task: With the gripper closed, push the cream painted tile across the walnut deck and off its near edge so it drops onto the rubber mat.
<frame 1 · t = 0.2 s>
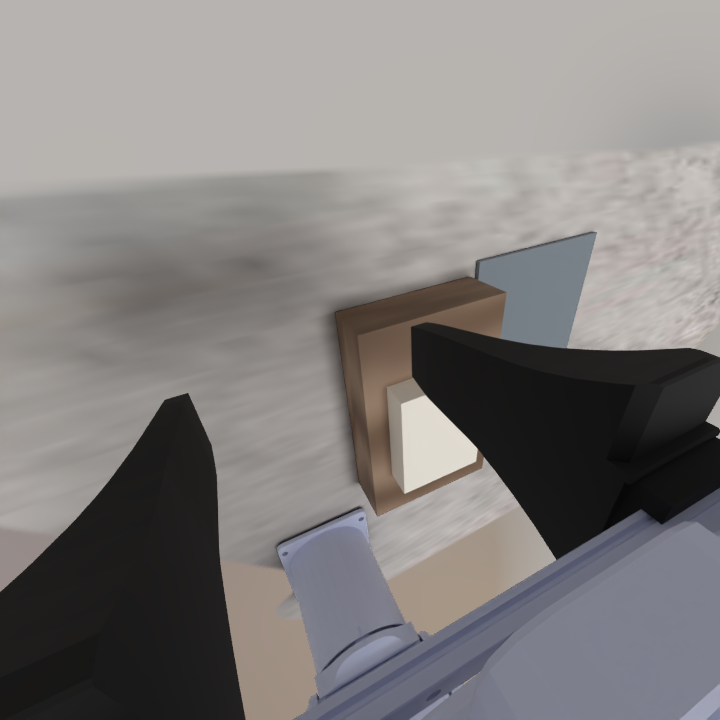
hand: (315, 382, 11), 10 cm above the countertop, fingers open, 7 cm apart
deck: (408, 390, 27), on the countertop
mat: (519, 351, 30), on the countertop
tile: (428, 419, 24), point 3 cm above the countertop, touching deck
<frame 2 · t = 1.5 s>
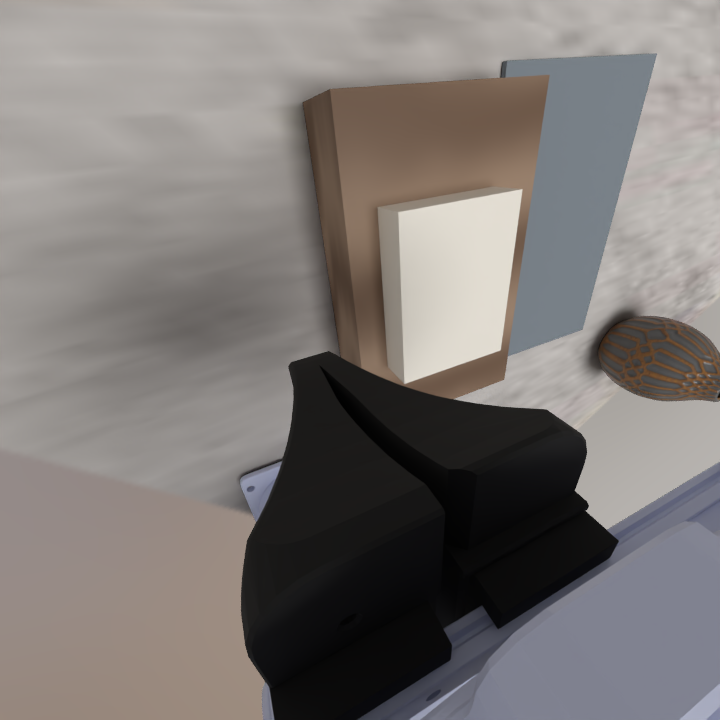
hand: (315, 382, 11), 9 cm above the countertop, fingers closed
deck: (409, 264, 21), on the countertop
vase: (611, 340, 33), on the countertop
mat: (551, 230, 24), on the countertop
tile: (436, 283, 18), point 3 cm above the countertop, touching deck
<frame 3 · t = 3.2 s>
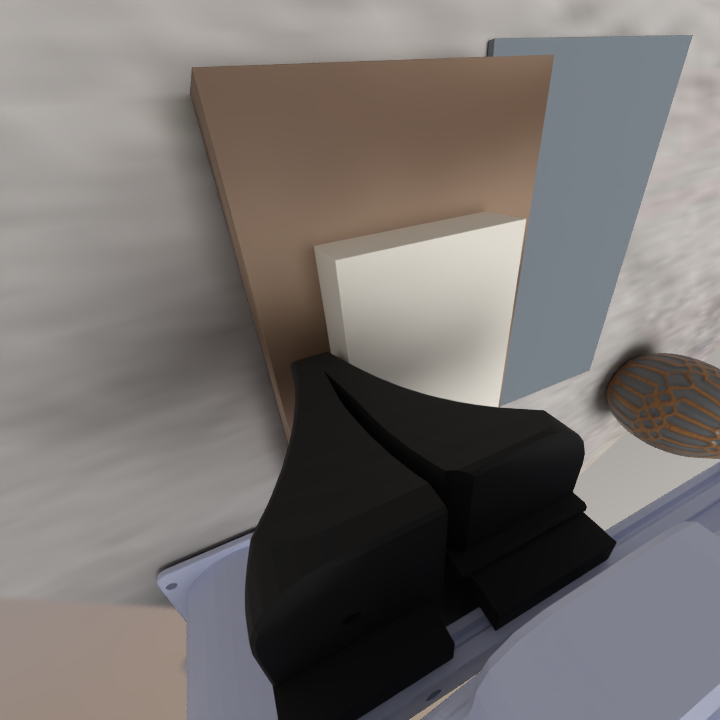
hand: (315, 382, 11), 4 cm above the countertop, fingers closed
deck: (369, 308, 16), on the countertop
vase: (622, 377, 29), on the countertop
mat: (553, 259, 19), on the countertop
tile: (408, 340, 13), point 3 cm above the countertop, touching deck, gripper
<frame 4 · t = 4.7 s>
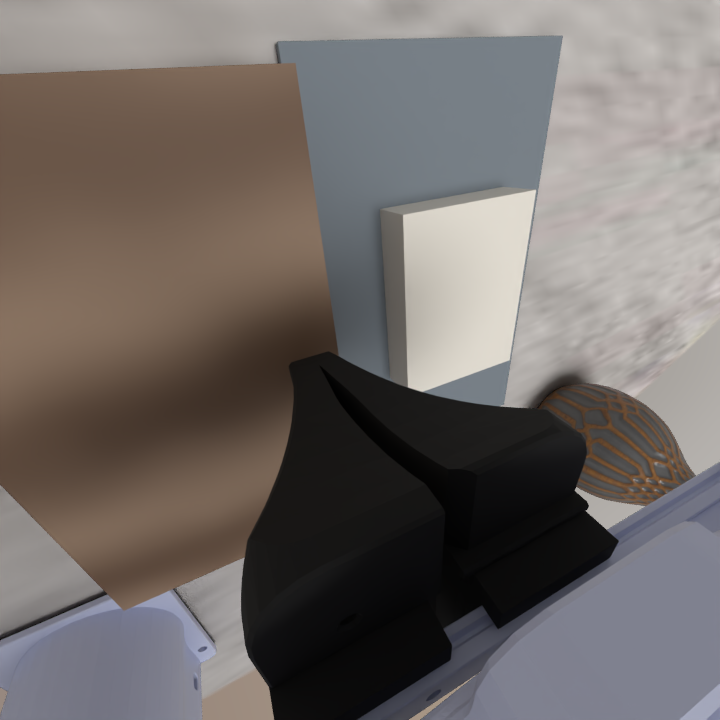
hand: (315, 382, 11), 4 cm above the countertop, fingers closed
deck: (186, 356, 13), on the countertop
vase: (551, 407, 26), on the countertop
mat: (431, 291, 17), on the countertop
tile: (466, 302, 15), point 2 cm above the countertop, tilted 180°, touching mat
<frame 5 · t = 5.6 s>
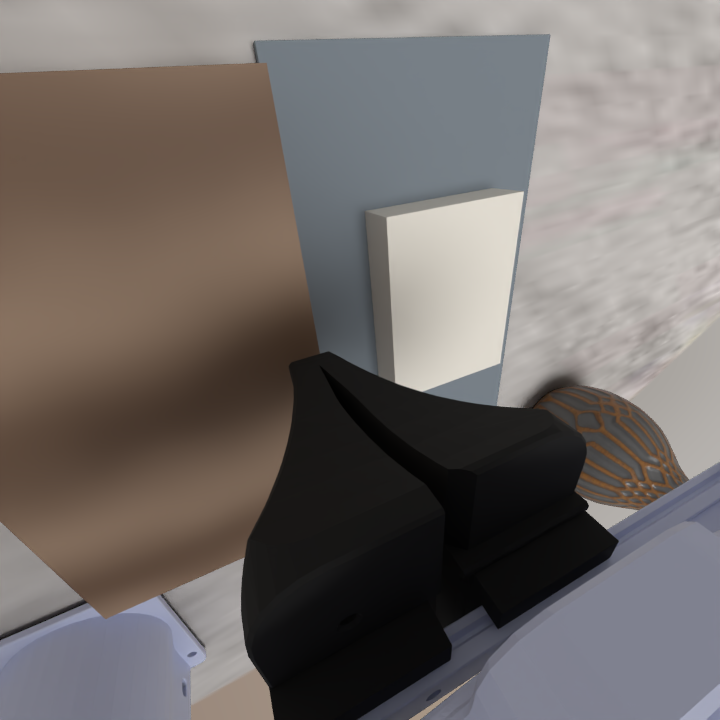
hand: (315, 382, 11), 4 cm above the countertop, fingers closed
deck: (168, 361, 13), on the countertop
vase: (545, 409, 26), on the countertop
mat: (419, 294, 16), on the countertop
tile: (454, 305, 15), point 2 cm above the countertop, tilted 180°, touching mat
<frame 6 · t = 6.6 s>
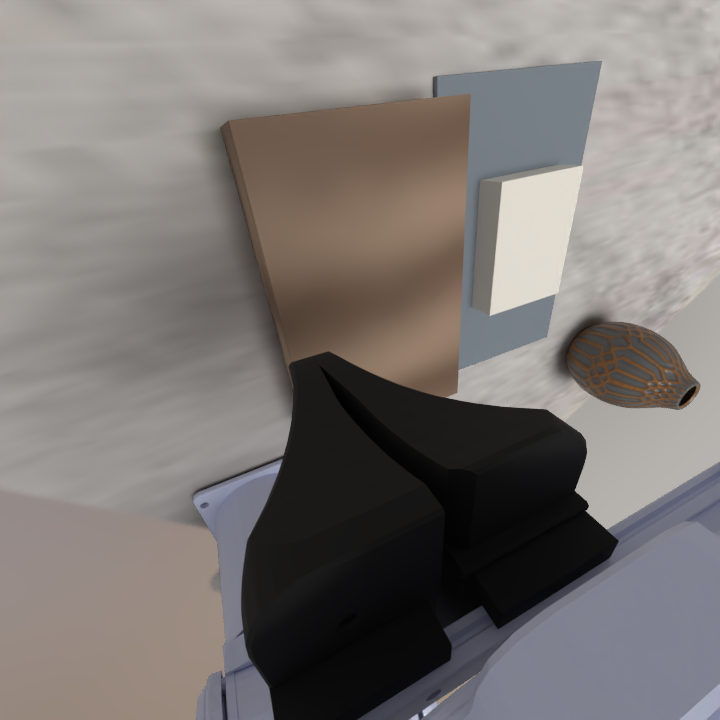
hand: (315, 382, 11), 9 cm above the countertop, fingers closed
deck: (353, 281, 20), on the countertop
vase: (580, 345, 33), on the countertop
mat: (503, 241, 23), on the countertop
tile: (533, 245, 22), point 2 cm above the countertop, tilted 180°, touching mat
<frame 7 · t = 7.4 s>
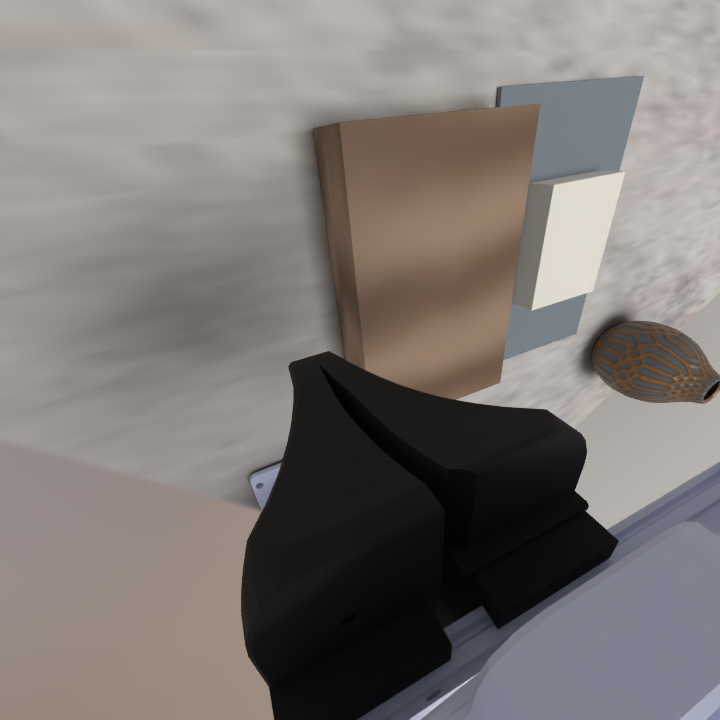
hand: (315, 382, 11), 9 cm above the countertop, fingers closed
deck: (410, 274, 22), on the countertop
vase: (604, 343, 35), on the countertop
mat: (545, 241, 25), on the countertop
tile: (575, 244, 23), point 2 cm above the countertop, tilted 180°, touching mat
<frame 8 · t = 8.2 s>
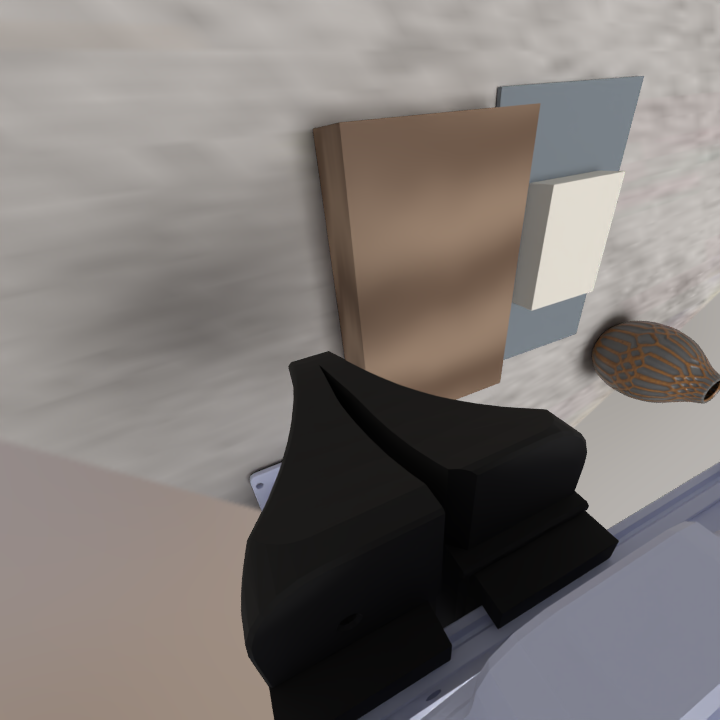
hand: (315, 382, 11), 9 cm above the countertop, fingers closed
deck: (410, 274, 22), on the countertop
vase: (604, 343, 35), on the countertop
mat: (545, 241, 25), on the countertop
tile: (575, 244, 23), point 2 cm above the countertop, tilted 180°, touching mat
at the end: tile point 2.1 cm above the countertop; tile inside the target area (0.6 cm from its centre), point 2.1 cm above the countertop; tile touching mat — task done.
